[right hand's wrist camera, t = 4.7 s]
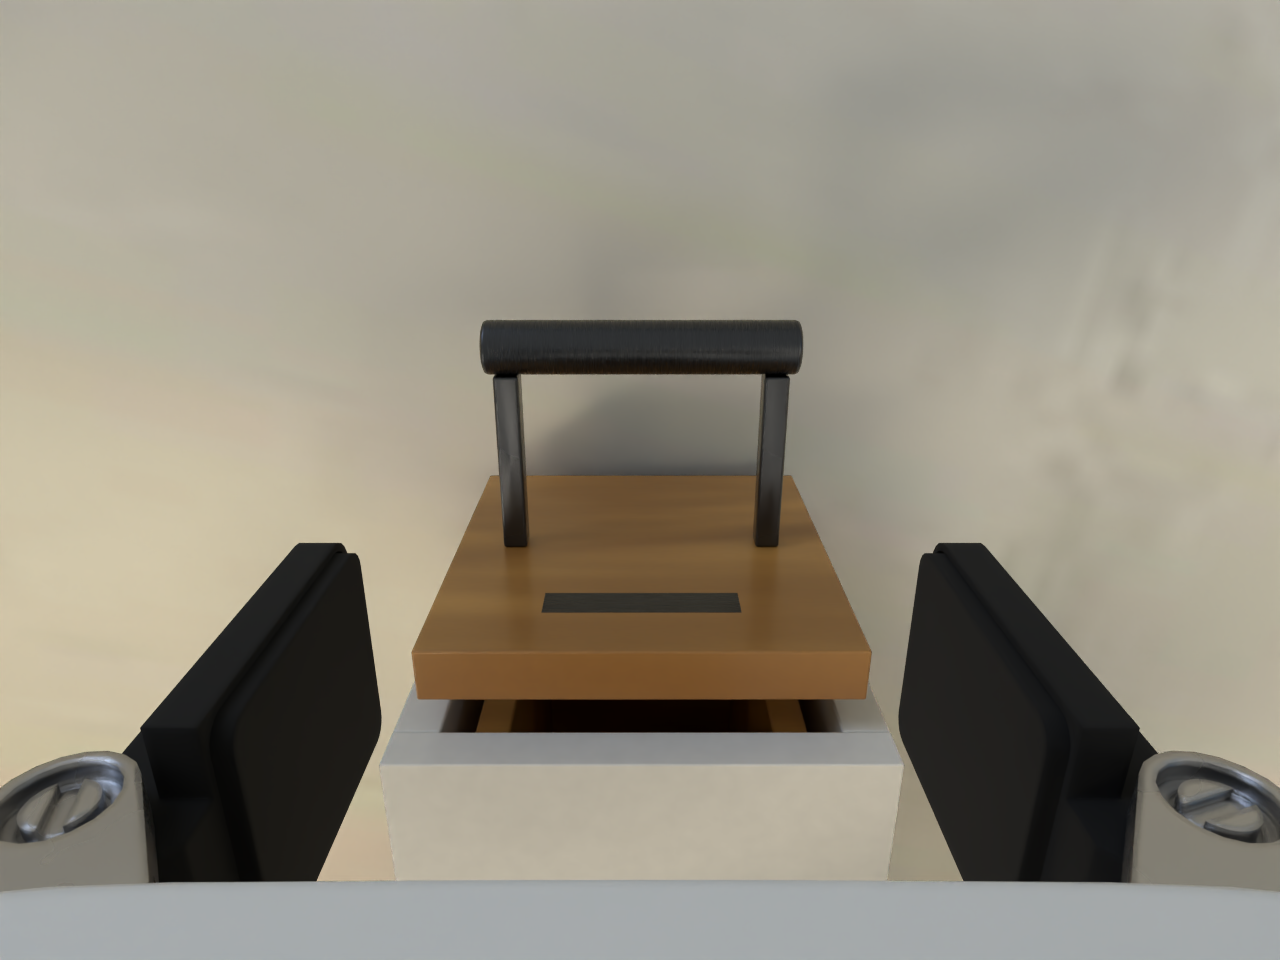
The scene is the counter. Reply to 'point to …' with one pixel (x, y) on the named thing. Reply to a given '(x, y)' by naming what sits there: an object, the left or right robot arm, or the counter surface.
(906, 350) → the counter surface
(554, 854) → the off-white box shell
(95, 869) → the right robot arm
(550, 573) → the drawer
